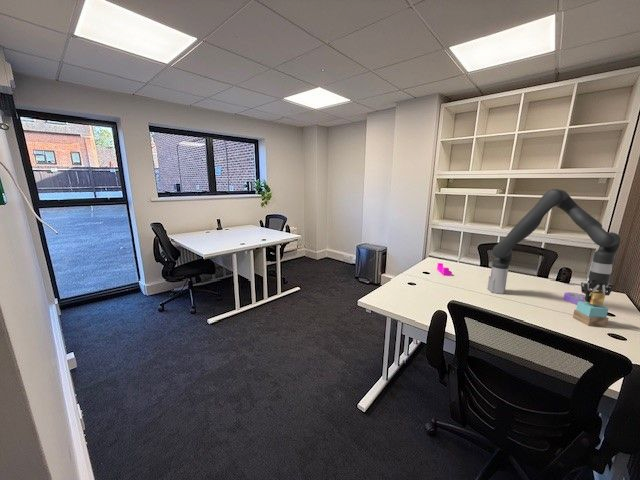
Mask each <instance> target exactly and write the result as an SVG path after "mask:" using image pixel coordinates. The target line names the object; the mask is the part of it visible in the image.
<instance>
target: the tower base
mask: <svg viewBox="0 0 640 480" xmlns="http://www.w3.org/2000/svg"><path fill="white" fill-rule="evenodd" d="M572 318H573V319H574V320H576V321H578V322H580V323H582V324H584V325H585V326H587V327H606V328H607V326H608V322H609V317H606V318H601V317H588V316H587V315H585V314H583V313H581V312H579V311H577V310H576V309H574V310H573V316H572Z"/></svg>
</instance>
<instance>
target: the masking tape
mask: <svg viewBox="0 0 640 480" xmlns="http://www.w3.org/2000/svg"><path fill="white" fill-rule="evenodd" d="M563 294H564V295H563V300H564V301H566V302H568V303H571V304H574V305H577V303H578V301H582V302H586V301H584V298H585V294H583V293H578V292H571V291H570V292H568V291H567V292H564V293H563Z"/></svg>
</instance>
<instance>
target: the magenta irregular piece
mask: <svg viewBox="0 0 640 480" xmlns="http://www.w3.org/2000/svg"><path fill="white" fill-rule="evenodd" d="M436 265H437V266H436V270H437V271H438V272H439V273H440V274H441V275H442V276H444V277H452V275H453V272H452V271H451V270H450V267H445V266H444V263H443V262H437V264H436Z"/></svg>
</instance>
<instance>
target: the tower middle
mask: <svg viewBox="0 0 640 480" xmlns="http://www.w3.org/2000/svg"><path fill="white" fill-rule="evenodd" d="M575 310H577V311H579V312H581V313H583V314H585V315H587V316H588V317H601V318H606V317H607V315H608V311H609V308H608V307H606V306H604V305H592V304H590V303H588V302H582V301H578V303H577V304H576V308H575ZM607 318H608V317H607Z"/></svg>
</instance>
